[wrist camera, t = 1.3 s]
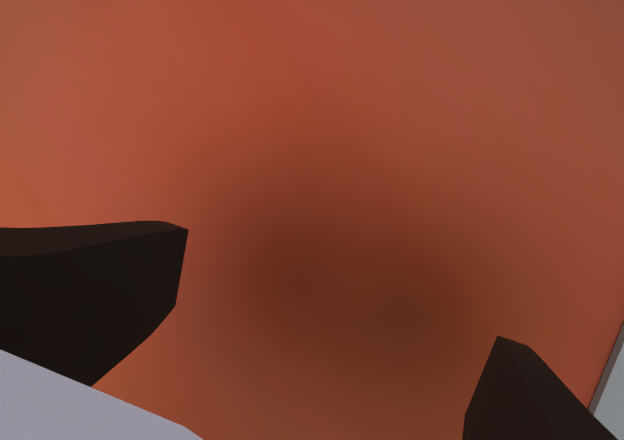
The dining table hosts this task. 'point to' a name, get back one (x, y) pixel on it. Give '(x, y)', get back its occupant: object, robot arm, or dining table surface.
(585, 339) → the dining table surface
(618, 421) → the mat
